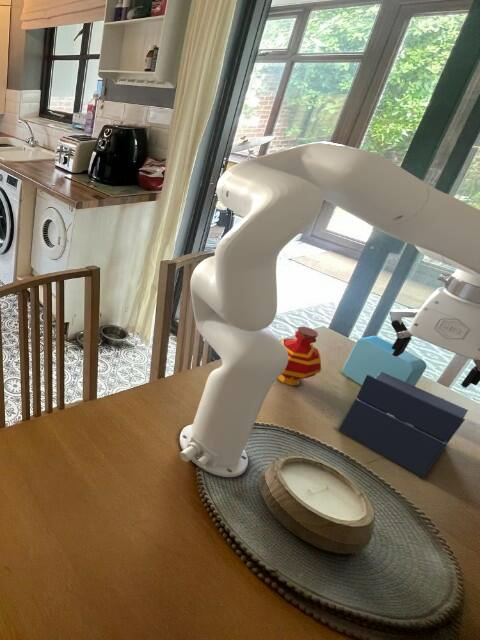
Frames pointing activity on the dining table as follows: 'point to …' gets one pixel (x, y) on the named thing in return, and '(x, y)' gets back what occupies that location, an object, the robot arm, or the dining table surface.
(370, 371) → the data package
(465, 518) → the dining table surface
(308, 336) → the potion bottle
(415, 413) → the flap
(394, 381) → the carton
